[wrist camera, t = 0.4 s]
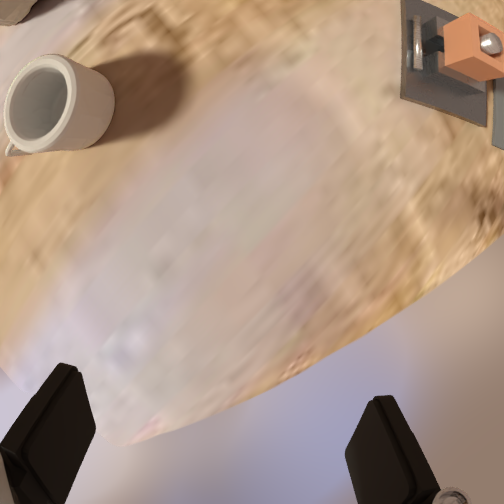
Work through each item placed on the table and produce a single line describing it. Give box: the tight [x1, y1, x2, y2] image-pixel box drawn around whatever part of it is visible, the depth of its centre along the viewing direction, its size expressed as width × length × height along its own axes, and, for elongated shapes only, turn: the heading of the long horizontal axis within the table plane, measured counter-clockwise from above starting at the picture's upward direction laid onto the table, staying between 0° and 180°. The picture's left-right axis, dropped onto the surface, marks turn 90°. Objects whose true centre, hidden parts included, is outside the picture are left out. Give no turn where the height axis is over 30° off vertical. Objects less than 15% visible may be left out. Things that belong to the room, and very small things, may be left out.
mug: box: [4, 54, 115, 156], centre depth 28 cm, size 14×11×10 cm
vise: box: [400, 0, 503, 127], centre depth 26 cm, size 16×14×12 cm
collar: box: [443, 13, 504, 82], centre depth 24 cm, size 6×6×6 cm
